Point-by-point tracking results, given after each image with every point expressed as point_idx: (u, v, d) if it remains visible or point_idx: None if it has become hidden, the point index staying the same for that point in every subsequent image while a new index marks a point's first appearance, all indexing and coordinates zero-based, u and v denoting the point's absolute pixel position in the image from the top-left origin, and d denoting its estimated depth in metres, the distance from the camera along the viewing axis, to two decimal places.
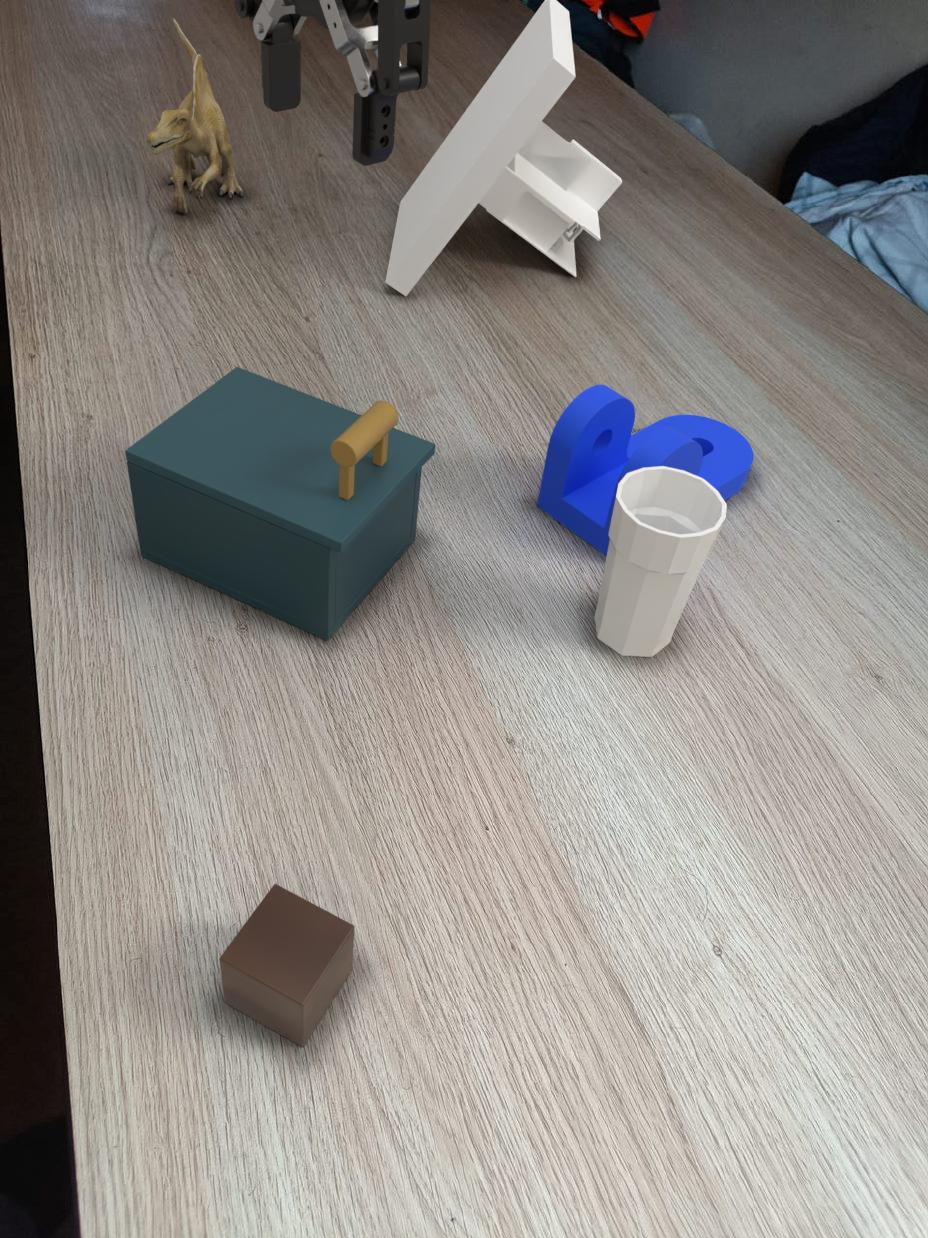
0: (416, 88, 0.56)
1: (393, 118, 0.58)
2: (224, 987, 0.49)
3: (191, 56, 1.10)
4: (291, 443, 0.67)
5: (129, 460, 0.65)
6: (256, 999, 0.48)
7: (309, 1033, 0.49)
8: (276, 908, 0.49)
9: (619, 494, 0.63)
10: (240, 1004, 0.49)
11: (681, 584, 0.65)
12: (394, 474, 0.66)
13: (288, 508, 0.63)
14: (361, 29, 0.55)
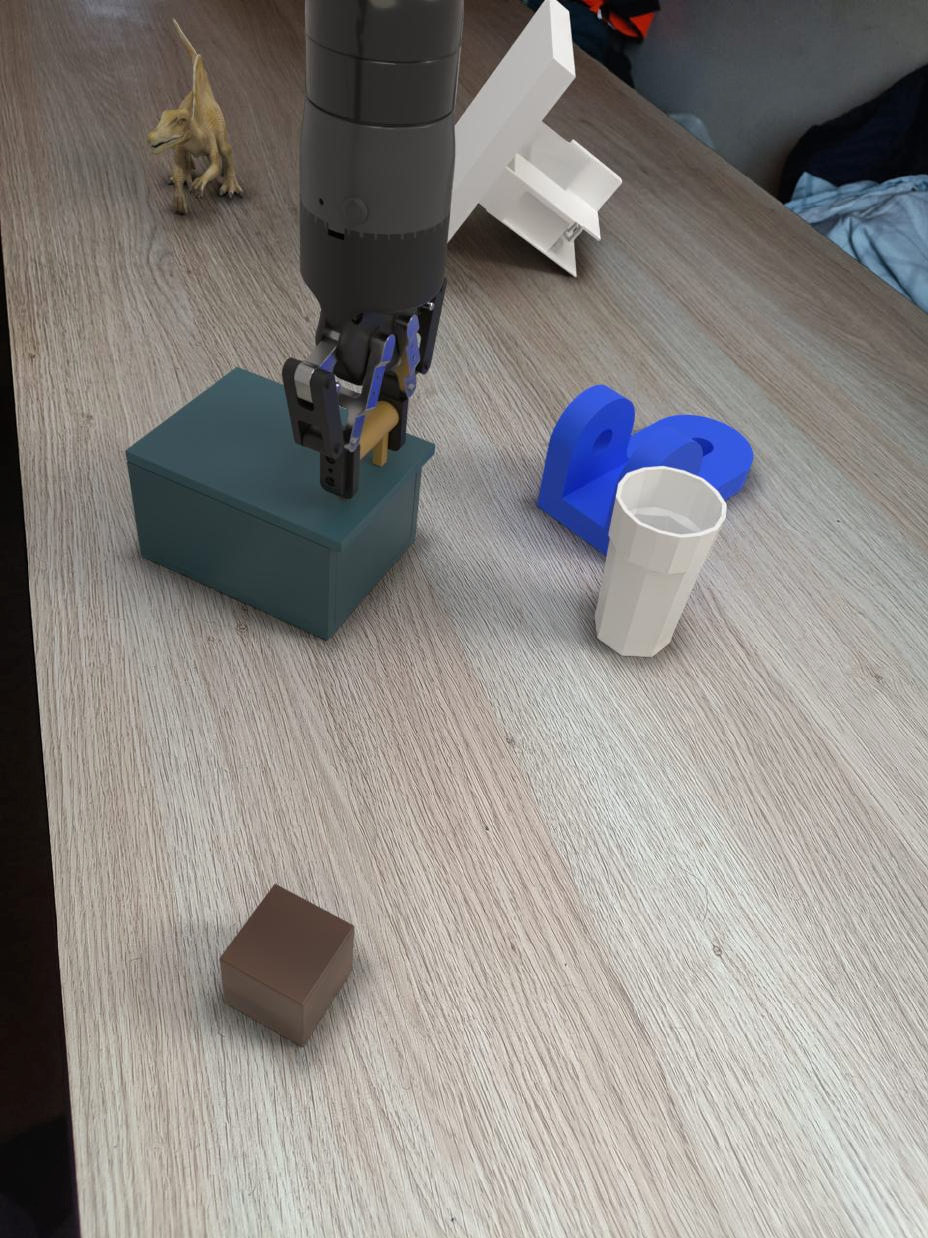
0: (325, 454, 0.58)
1: (338, 469, 0.60)
2: (224, 987, 0.49)
3: (191, 56, 1.10)
4: (291, 444, 0.67)
5: (129, 460, 0.65)
6: (256, 999, 0.48)
7: (309, 1033, 0.49)
8: (276, 908, 0.49)
9: (619, 494, 0.63)
10: (240, 1004, 0.49)
11: (681, 584, 0.65)
12: (394, 474, 0.66)
13: (288, 509, 0.63)
14: None
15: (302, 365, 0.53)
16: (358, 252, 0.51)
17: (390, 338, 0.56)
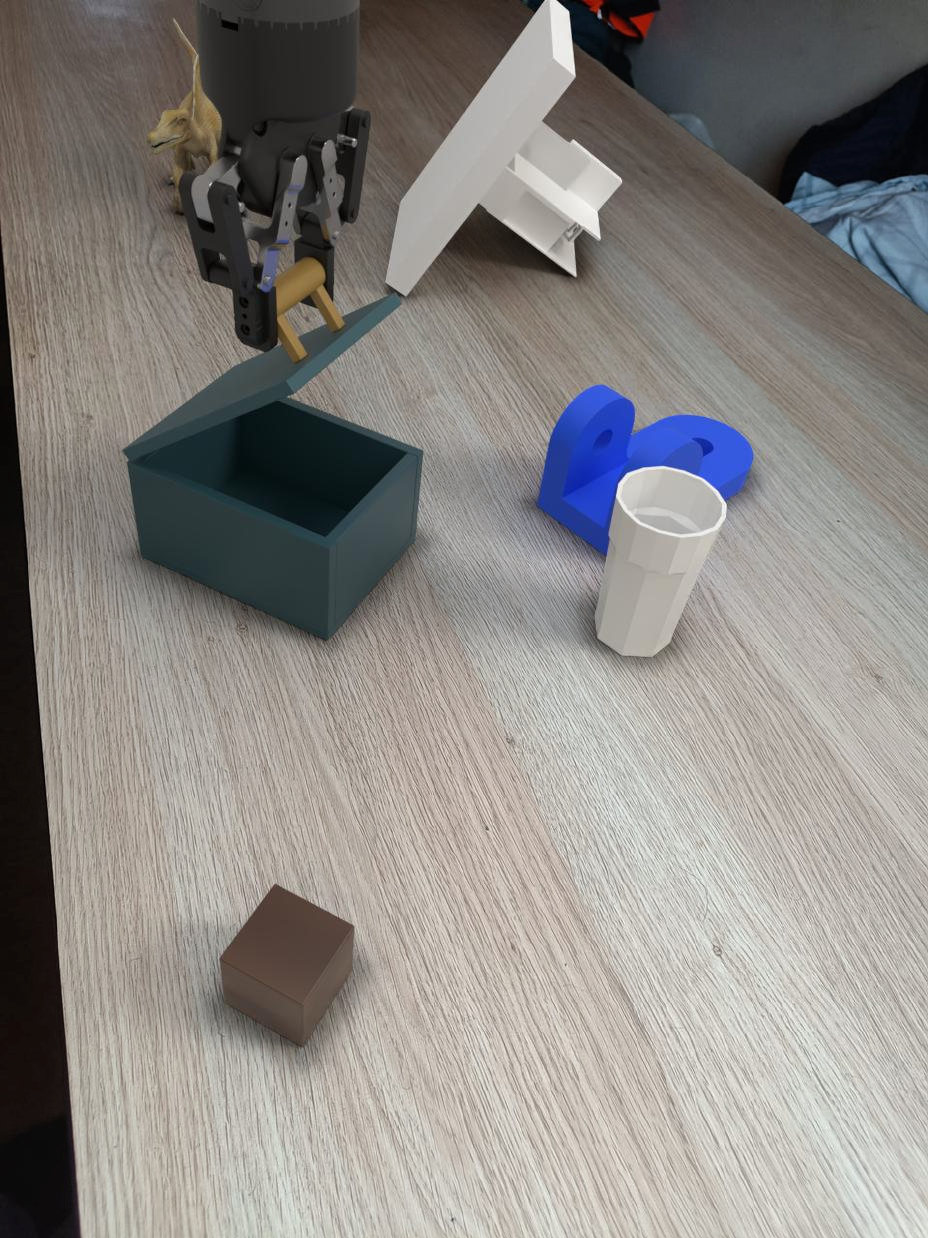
0: (234, 290, 0.54)
1: (253, 313, 0.56)
2: (224, 987, 0.49)
3: (191, 56, 1.10)
4: (263, 367, 0.64)
5: (130, 458, 0.65)
6: (256, 999, 0.48)
7: (309, 1033, 0.49)
8: (276, 908, 0.49)
9: (619, 494, 0.63)
10: (240, 1004, 0.49)
11: (681, 584, 0.65)
12: (350, 325, 0.60)
13: (245, 393, 0.58)
14: None
15: (200, 178, 0.49)
16: (254, 46, 0.47)
17: (300, 159, 0.52)
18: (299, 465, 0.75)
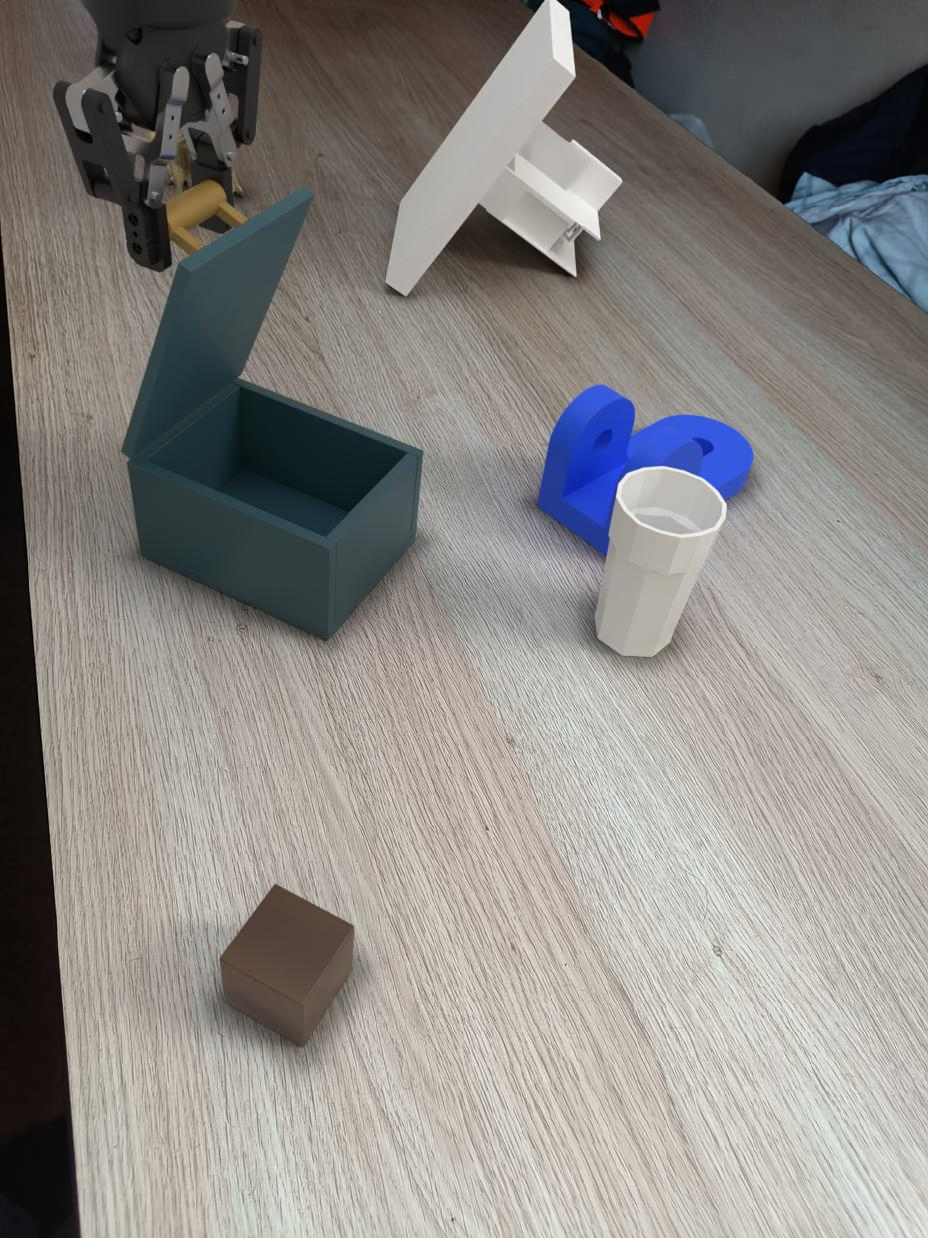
0: None
1: (142, 231, 0.56)
2: (224, 987, 0.49)
3: None
4: None
5: (129, 455, 0.65)
6: (256, 999, 0.48)
7: (309, 1033, 0.49)
8: (276, 908, 0.49)
9: (619, 494, 0.63)
10: (240, 1004, 0.49)
11: (681, 584, 0.65)
12: None
13: None
14: (124, 136, 0.54)
15: (73, 86, 0.49)
16: None
17: (181, 70, 0.52)
18: (299, 465, 0.75)
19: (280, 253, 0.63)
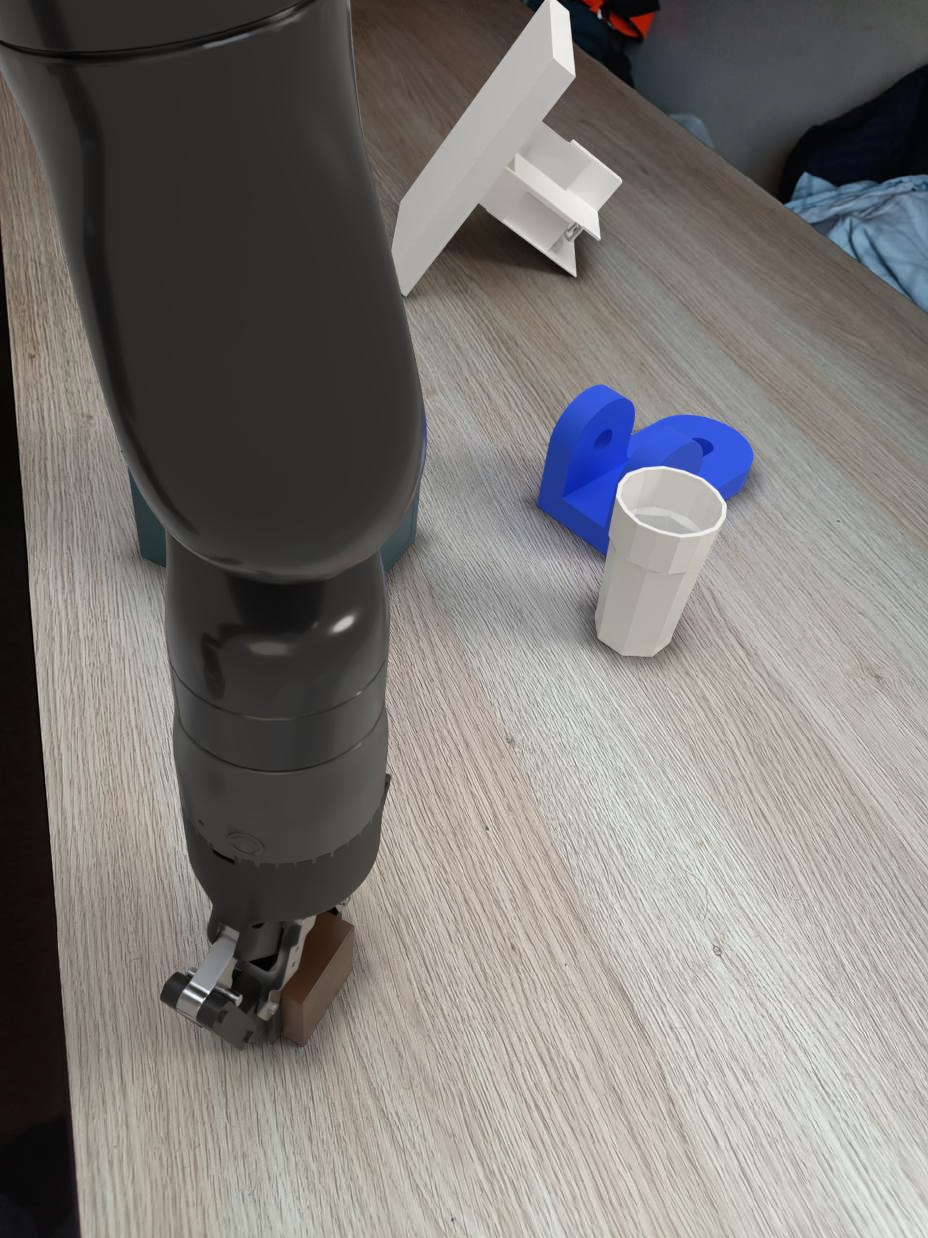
0: None
1: None
2: None
3: None
4: None
5: None
6: None
7: (309, 1033, 0.49)
8: None
9: (619, 494, 0.63)
10: None
11: (681, 584, 0.65)
12: None
13: None
14: None
15: (186, 994, 0.40)
16: (254, 876, 0.37)
17: None
18: None
19: None
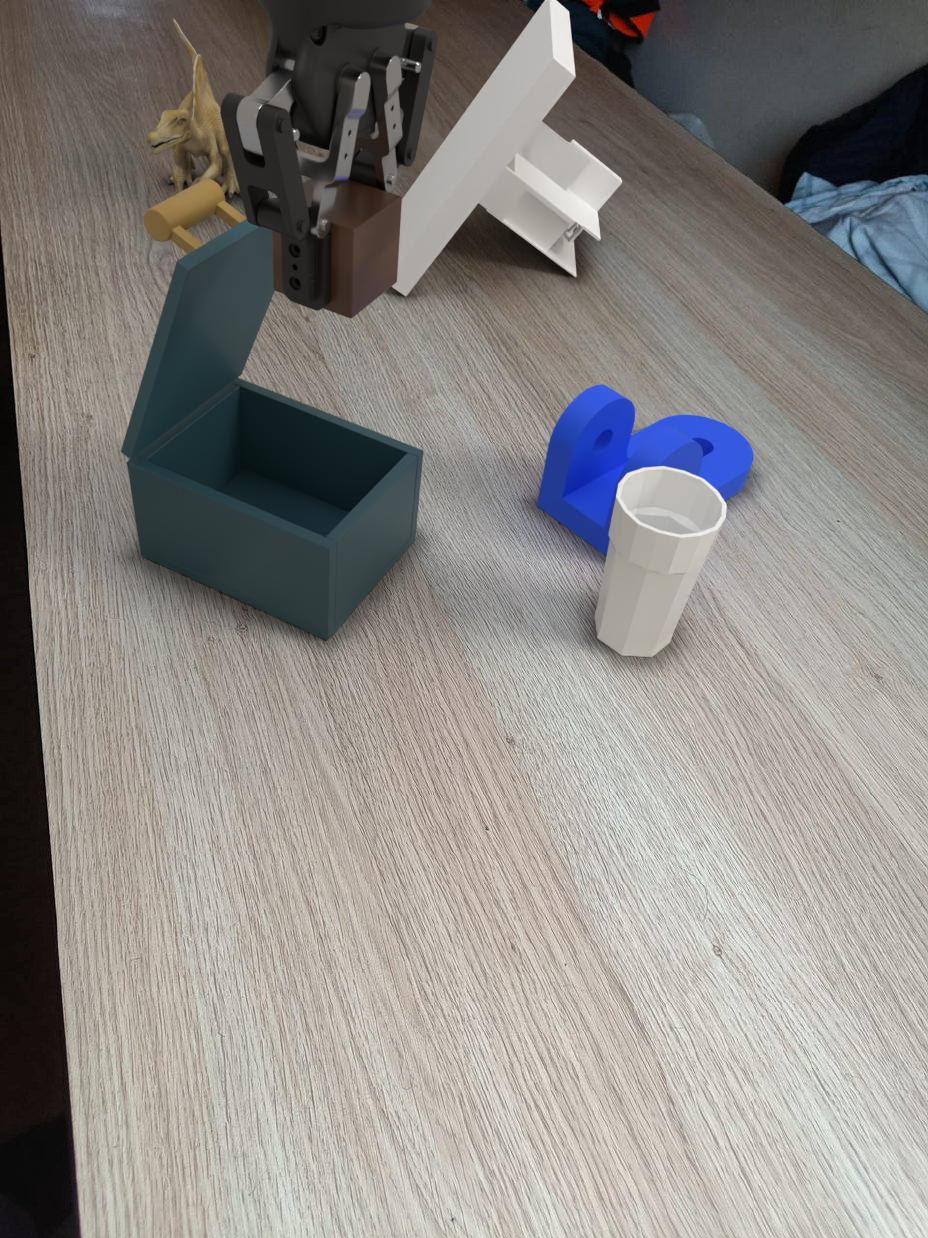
0: (286, 235, 0.45)
1: (305, 264, 0.48)
2: (274, 257, 0.50)
3: (191, 56, 1.10)
4: None
5: (129, 455, 0.65)
6: None
7: (357, 304, 0.50)
8: None
9: (619, 494, 0.63)
10: None
11: (681, 584, 0.65)
12: None
13: None
14: None
15: (246, 100, 0.41)
16: None
17: (363, 77, 0.44)
18: (299, 465, 0.75)
19: None
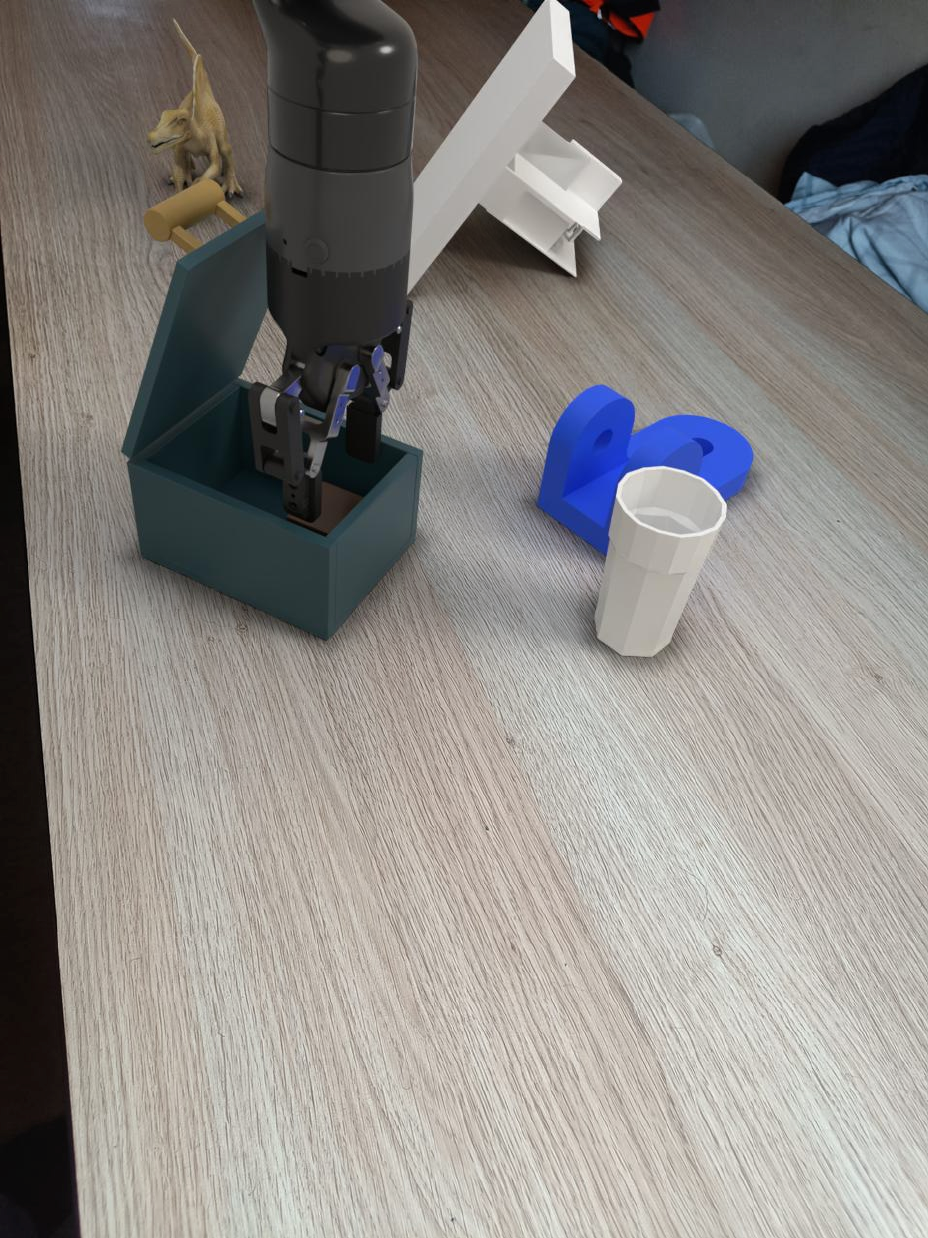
0: (285, 481, 0.59)
1: (300, 494, 0.62)
2: None
3: (191, 56, 1.10)
4: None
5: (129, 455, 0.65)
6: None
7: None
8: (324, 492, 0.69)
9: (619, 494, 0.63)
10: None
11: (681, 584, 0.65)
12: None
13: None
14: None
15: (268, 388, 0.56)
16: (320, 289, 0.54)
17: (354, 368, 0.59)
18: None
19: None
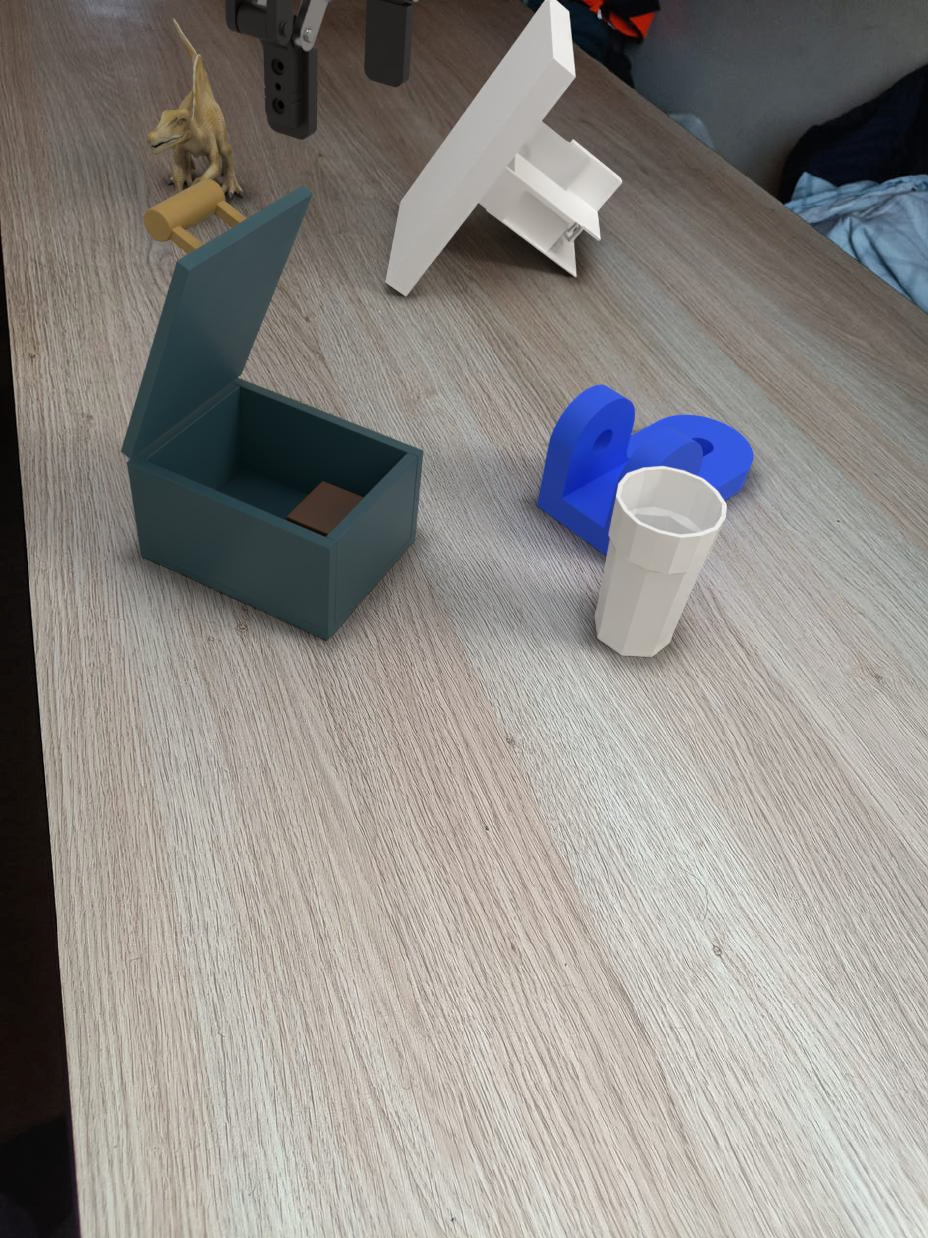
0: (266, 38, 0.43)
1: (288, 81, 0.45)
2: None
3: (191, 56, 1.10)
4: None
5: (129, 455, 0.65)
6: None
7: None
8: (324, 492, 0.69)
9: (619, 494, 0.63)
10: None
11: (681, 584, 0.65)
12: None
13: None
14: None
15: None
16: None
17: None
18: (299, 465, 0.75)
19: (279, 252, 0.63)
